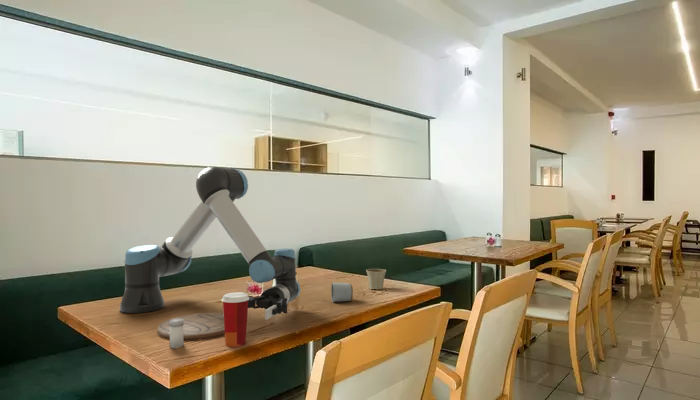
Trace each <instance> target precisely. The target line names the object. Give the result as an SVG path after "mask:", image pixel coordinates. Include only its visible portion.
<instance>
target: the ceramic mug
mask: <svg viewBox="0 0 700 400" xmlns="http://www.w3.org/2000/svg"><path fill="white" fill-rule="evenodd" d="M330 287H331V289H330V292H331V293H330V296H331V303H340V302H341V303H342V302H351V301H352V300H353V297H354V293H353V292H354V290H353V285H352V284H351V283H348V282H331V286H330Z"/></svg>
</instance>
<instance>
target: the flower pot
mask: <svg viewBox="0 0 700 400" xmlns="http://www.w3.org/2000/svg"><path fill="white" fill-rule="evenodd" d="M365 271H366V275H367V279H368V288H370V289H369V290H371V289H373V290H374V289H381V290H383V289H384V282H385V275H386V273H387V270H386V269H382V268H368V269H365ZM382 288H383V289H382Z"/></svg>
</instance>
